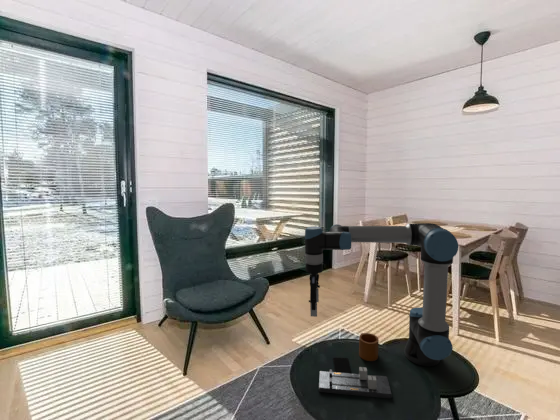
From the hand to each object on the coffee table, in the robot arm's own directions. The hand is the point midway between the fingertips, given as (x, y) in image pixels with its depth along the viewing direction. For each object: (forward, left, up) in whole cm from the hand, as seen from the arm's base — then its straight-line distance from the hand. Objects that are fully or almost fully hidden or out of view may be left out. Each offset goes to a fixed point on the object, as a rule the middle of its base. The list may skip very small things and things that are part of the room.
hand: (314, 308), depth 135 cm
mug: (-24, -13, -28) cm, 39 cm away
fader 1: (-20, +8, -26) cm, 34 cm away
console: (-16, +11, -28) cm, 34 cm away
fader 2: (-23, +13, -26) cm, 37 cm away
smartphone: (-12, 0, -28) cm, 31 cm away
